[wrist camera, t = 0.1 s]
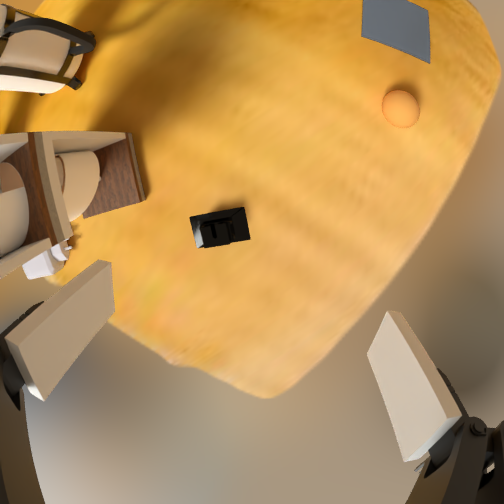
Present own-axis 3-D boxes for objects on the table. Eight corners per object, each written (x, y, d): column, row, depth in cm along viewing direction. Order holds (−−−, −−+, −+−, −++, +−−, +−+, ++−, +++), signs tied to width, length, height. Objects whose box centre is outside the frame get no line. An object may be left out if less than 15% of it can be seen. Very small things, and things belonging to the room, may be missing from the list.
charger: (86, 261, 44) (41, 271, 46) (70, 213, 41) (27, 231, 43) (71, 272, 39) (28, 281, 41) (54, 220, 36) (12, 238, 38)
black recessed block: (257, 196, 38) (256, 201, 34) (266, 244, 41) (266, 255, 37) (175, 211, 40) (165, 219, 36) (187, 256, 42) (178, 268, 38)
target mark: (363, -16, 24) (363, -16, 23) (427, 10, 24) (427, 10, 23) (361, 36, 28) (361, 36, 28) (429, 63, 28) (430, 63, 28)
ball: (378, 88, 31) (393, 80, 26) (410, 100, 31) (428, 95, 26) (373, 122, 33) (389, 119, 28) (406, 133, 33) (424, 132, 28)
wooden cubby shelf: (90, 215, 40) (-83, 322, 8) (76, 156, 37) (-113, 209, 4) (145, 199, 39) (-65, 329, 6) (131, 133, 35) (-104, 156, 3)
